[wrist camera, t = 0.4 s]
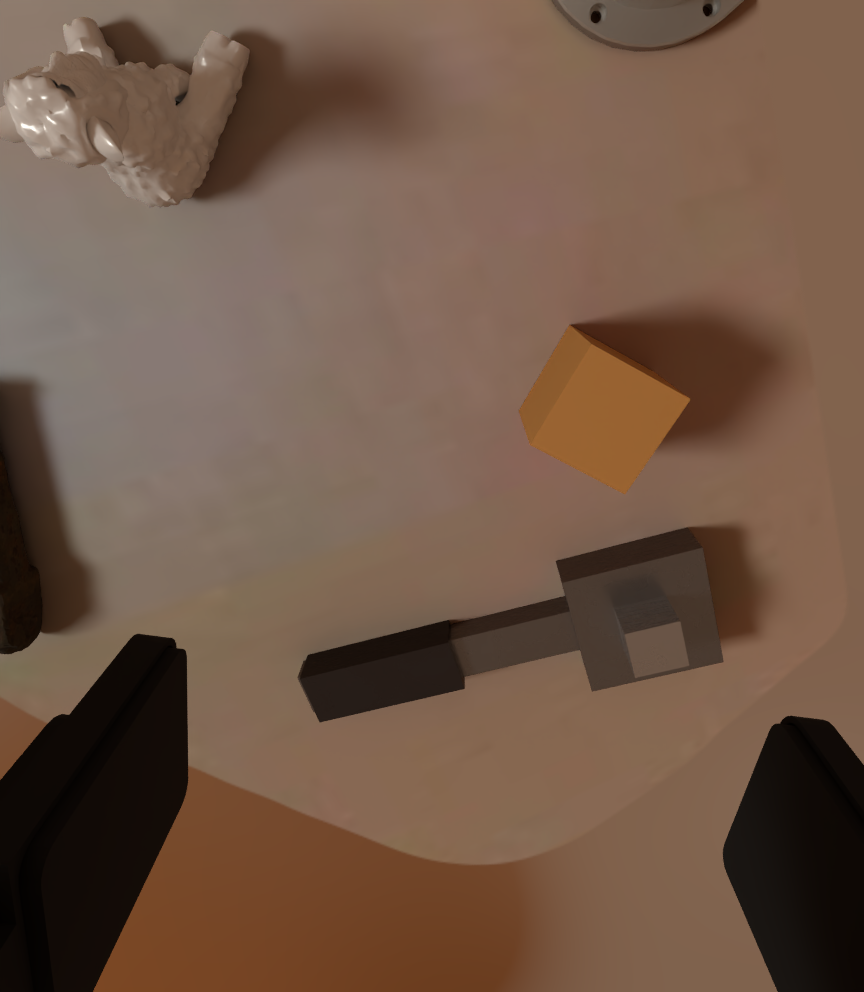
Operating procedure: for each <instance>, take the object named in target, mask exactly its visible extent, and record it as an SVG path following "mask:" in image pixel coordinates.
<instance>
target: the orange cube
mask: <svg viewBox="0 0 864 992" xmlns="http://www.w3.org/2000/svg"><path fill="white" fill-rule="evenodd" d="M690 400H691V399H690V398H688V397H687V396H686V395H684V394H683V393H682V392H680V391H679V390H678V389H676V388H675V387H674V386H672V385H671V384H670V383H668V382H667V381H666V380H664V379H663V378H661V377H660V376H659V375H657V374H656V373H655V372H653V371H652V370H650V369H648V368H646V367H644V366H643V365H641V364H639V363H637V362H635V361H634V360H632V359H630V358H628V357H626V356H625V355H623V354H621V353H619V352H617V351H616V350H614V349H612V348H610V347H609V346H607V345H605V344H603V343H601V342H600V341H598V340H596V339H594V338H592V337H591V336H589V335H587V334H585V333H583V332H582V331H580V330H578V329H576V328H574V327H573V326H571V325H569V327H568V328H567V330H566V332H565V333H564V335H563V337H562V338H561V340H560V342H559V344H558V345H557V347H556V349H555V350H554V352H553V354H552V355H551V357H550V359H549V360H548V362H547V364H546V366H545V367H544V369H543V371H542V372H541V374H540V376H539V377H538V379H537V381H536V382H535V384H534V386H533V388H532V389H531V391H530V393H529V394H528V396H527V398H526V399H525V401H524V403H523V405H522V406H521V408H520V410H519V413H520V416H521V419H522V422H523V425H524V428H525V431H526V434H527V437H528V440H529V443H530V445H531V446H533V447H535V448H537V449H539V450H541V451H543V452H545V453H547V454H548V455H550V456H552V457H554V458H556V459H558V460H560V461H562V462H564V463H566V464H568V465H570V466H572V467H573V468H575V469H577V470H579V471H581V472H583V473H585V474H587V475H589V476H591V477H593V478H595V479H596V480H598V481H600V482H602V483H604V484H606V485H608V486H610V487H612V488H614V489H616V490H618V491H619V492H621V493H623V494H626V492H627V491H628V489H629V488H630V486H631V485H632V484H633V482H634V481H635V479H636V478H637V476H638V475H639V473H640V472H641V471H642V469H643V468H644V466H645V465H646V463H647V462H648V460H649V459H650V458H651V456H652V455H653V453H654V452H655V450H656V449H657V447H658V446H659V445H660V443H661V442H662V440H663V439H664V437H665V436H666V434H667V433H668V432H669V430H670V429H671V427H672V426H673V424H674V423H675V421H676V420H677V419H678V417H679V416H680V414H681V413H682V411H683V410H684V408H685V407H686V406H687V404H688V403H689V401H690Z"/></svg>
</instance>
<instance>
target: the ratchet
mask: <svg viewBox="0 0 864 992" xmlns="http://www.w3.org/2000/svg"><path fill="white" fill-rule="evenodd" d="M556 564H557V567H558V571H559V575H560V578H561V582H562V585H563V589H564V593H565V596H564V597H560V598H556V599H552V600H548V601H544V602H540V603H536V604H532V605H528V606H524V607H520V608H516V609H512V610H508V611H504V612H500V613H496V614H491V615H487V616H483V617H479V618H475V619H471V620H467V621H463V622H459V623H455V624H451V625H450V623H449V620H447V621H443V622H439V623H435V624H431V625H427V626H423V627H419V628H415V629H411V630H407V631H403V632H399V633H395V634H391V635H387V636H383V637H379V638H375V639H371V640H367V641H363V642H359V643H355V644H351V645H347V646H343V647H339V648H335V649H331V650H327V651H323V652H319V653H315V654H311V655H308V656H307V659H306V661H303V664H302V667H301V670H300V672H299V675H298V680H299V682H300V684H301V686H302V688H303V691H304V693H305V695H306V697H307V699H308V701H309V703H310V705H311V708H312V710H313V712H315V713H316V715H317V718H318V720H319V722H323V721H328V720H332V719H336V718H341V717H345V716H349V715H354V714H358V713H362V712H366V711H371V710H375V709H379V708H384V707H388V706H392V705H397V704H401V703H405V702H410V701H414V700H418V699H423V698H427V697H431V696H435V695H440V694H444V693H448V692H453V691H457V690H461V689H465V676H470V675H474V674H478V673H482V672H487V671H491V670H495V669H499V668H504V667H508V666H512V665H516V664H521V663H525V662H529V661H533V660H538V659H542V658H546V657H551V656H555V655H559V654H563V653H568V652H572V651H576V650H580V651H581V655H582V658H583V662H584V665H585V669H586V672H587V676H588V679H589V683H590V686H591V690H592V691H597V690H601V689H606V688H610V687H614V686H619V685H623V684H628V683H632V682H637V681H641V680H646V679H650V678H654V677H659V676H663V675H668V674H672V673H677V672H681V671H686V670H690V669H695V668H699V667H703V666H708V665H712V664H717V663H721V662H723V656H722V651H721V645H720V640H719V634H718V629H717V623H716V618H715V612H714V607H713V601H712V596H711V590H710V585H709V579H708V574H707V568H706V563H705V557H704V552H703V547H702V546H701V545H700V543H699V542H698V541H697V539H696V538H695V537H694V536H693V534H692V533H691V532H690V530H689V529H688V528H684V529H680V530H676V531H672V532H668V533H664V534H660V535H656V536H652V537H648V538H644V539H641V540H637V541H633V542H629V543H625V544H621V545H617V546H613V547H609V548H605V549H601V550H598V551H594V552H590V553H586V554H582V555H578V556H574V557H570V558H566V559H562V560H559V561H556Z"/></svg>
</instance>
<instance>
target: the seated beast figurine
mask: <svg viewBox="0 0 864 992" xmlns="http://www.w3.org/2000/svg"><path fill="white" fill-rule="evenodd" d="M63 31H64V38H65V41H66V44H67V47H68V51H67V54H63V53H62V52H59V51H56V52H53V54H51V56H50V61H49V65H46V66H45V67H39V66H38V67H34V68H30V69H28V70H27V71H26V72H25V73H23V74H20V75H18V76H16V77H14V78H10V79H9V80H7V81H5V82H4V89H3V95H4V98H5V104H6V105H4V106H2V107H0V138H2V139H4V140H6V141H9V142H13V143H18V142H24V141H25V142H26V144H27V145H28V146H29V147H30V148H31V150H32V151H33V152H34V154H35V155H36V156H37V157H39V158H40V159H49V158H54V159H58V160H60V161H63V162H66V163H68V164H70V165H72V166H74V167H76V168H81V167H84V166H86V165H88V164H90V165H98V164H100V165H102V166H103V167H104V168H105V169H106V170H107V172H108V174H109V175H110V178H111V180H112V181H114V182H115V183H117V184H118V185H119V186H120V187H121V189H122V190H123V192H124V193H125V194H126V196H127V197H128V198H134V199H136V200H140V201H142V202H144V203H145V204H146V205H147V206H149V207H154V206H157V207H162V206H164V207H169V206H170V205H178V204H179V203H180V201H181V200H183V199H189V198H191V197H192V195H193V193H194V192H195V189H196V188H199V187H200V185H202V183H203V179H205V177H206V172H207V171H208V170H209V166H210V165H209V162H210V161H211V160H213V158H214V154H215V151H216V148H217V147H218V144H219V143H218V139H219V138H220V134H221V133H222V132H223V131H224V127H225V124H226V123H227V118H228V116H229V115H230V114H231V113H232V111H233V107H234V104H235V103H236V102H237V100H236V94H237V92H238V91H239V90H240V89H241V87H242V76H243V73H244V71H245V69H246V67H247V64H248V59H249V54H250V50H249V49H248V48H246V47H245V46H243V45H242V44H240V43H238V42H236V41H234V40H232V41H231V40H230V39H229V38H227V37H225V36H224V35H222V34H219V33H217V32H215V31H212V30H211V31H210V32H209V33H208V34H207V36H206V37H205V39H204V41H203V44H202V46H201V47H200V48H199V52H198V54H197V55H195V57H194V58H193V59H194V63H193V66H192V74H191V75H189V74H188V73H187V72H185V71H183V70H181V69H178V68H177V67H176V66H175V65H173V64H171V63H168V64H166V65H165V64H160V65H159V66H157V67H156V68H155V69H152V68H150V67H148V66H147V64H146V63H144V62H139V63H136V64H135V63H133V62H131V61H128V62H126V63H125V65H122V64H121V65H119V64H118V60H117V59H116V58H115V55H114V51H113V49H112V48H110V47H109V46H107V45H106V42H105V39H104V36H103V34H102V32H101V31H100V29H99V27H98V25H97V23H96V22H95V21H94V20H93V19H91V18H86V17H81V18H76V19H74V20H73V22H72V25H71V26H70V25H68V24H64V26H63ZM175 100H176V101H178V102H180V103H179V104H178V105H177V106H176V105H175V104H176V101H175Z"/></svg>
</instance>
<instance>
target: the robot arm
mask: <svg viewBox="0 0 864 992" xmlns="http://www.w3.org/2000/svg"><path fill="white" fill-rule="evenodd" d="M743 1H744V0H552V2H553V4H554V5H555V7H556V8H557V9H558V10H559V11H560V12H561V13H562V14H563V16H564V17H565V18H566V19H567V20H568V21H569V22H570V23H571V24H572V25H573V26H574V27H576V28H577V29H578V30H580V31H581V32H583V33H584V34H585V35H587V36H588V37H590V38H591V39H593V40H596V41H598V42H600V43H603V44H605V45H608V46H610V47H612V48H618V49H624V50H630V51H651V50H661V49H665V48H668V47H672V46H675V45H679V44H682V43H685V42H687V41H689V40H691V39H693V38H694V37H696V36H698V35H700V34H702V33H704V32H706V31H708V30H709V29H710V28H712V27H713V26H715V25H716V24H717V23H719V22H720V21H721V20H723V19H724V18H725V17H726V16H727V15H729V14H730V13H731V12H732V11H733V10H734V9H735V8H736V7H737V6H738V5H740V4H741V3H742V2H743ZM704 6H707V7H708V8H709V9H710V14H709V16H705V15H704V13H703V10H702V8H703V7H704ZM593 13H597V14H598V15H599V18H600V20H599V22H598V23H593V22H592V21H591V14H593ZM187 785H188V724H187V655H186V651H185V650H184V649H178V648H176V643H175V640H174V639H172V638H166V637H158V636H151V635H143V634H136V635H134V636H133V637H132V638H131V639H130V640H129V641H128V642H127V644H126V645H125V646H124V647H123V649H122V650H121V651H120V652H119V654H118V655H117V656H116V657H115V659H114V660H113V661H112V662H111V664H110V665H109V666H108V667H107V669H106V670H105V671H104V672H103V674H102V675H101V676H100V677H99V678H98V680H97V681H96V682H95V683H94V685H93V686H92V687H91V688H90V690H89V691H88V692H87V693H86V695H85V696H84V697H83V698H82V700H81V701H80V702H79V703H78V705H77V706H76V707H75V708H74V710H73V711H72V712H71V713H70V715H65V714H61V715H58V716H56V717H54V718H53V719H52V720H51V721H50V722H49V723H48V724H47V725H46V726H45V727H44V728H43V730H42V731H41V732H40V733H39V735H38V736H37V737H36V738H35V739H34V740H33V742H32V743H31V744H30V745H29V747H28V748H27V749H26V750H25V751H24V753H23V754H22V755H21V756H20V757H19V758H18V760H17V761H16V762H15V763H14V764H13V766H12V767H11V768H10V769H9V770H8V772H7V773H6V774H5V775H4V776H3V778H2V779H1V780H0V992H93V990H94V988H95V986H96V984H97V982H98V980H99V977H100V975H101V973H102V971H103V969H104V967H105V965H106V963H107V961H108V959H109V957H110V954H111V952H112V950H113V948H114V946H115V944H116V942H117V940H118V938H119V936H120V933H121V932H122V929H123V927H124V925H125V923H126V921H127V919H128V917H129V915H130V913H131V911H132V909H133V906H134V904H135V902H136V900H137V898H138V896H139V894H140V892H141V890H142V888H143V885H144V883H145V881H146V879H147V877H148V875H149V873H150V871H151V869H152V867H153V865H154V862H155V860H156V858H157V856H158V854H159V852H160V850H161V848H162V846H163V844H164V842H165V839H166V837H167V835H168V833H169V831H170V829H171V827H172V825H173V823H174V820H175V819H176V816H177V814H178V812H179V810H180V808H181V806H182V803H183V801H184V798H185V795H186V790H187ZM723 860H724V866H725V869H726V872H727V875H728V877H729V879H730V882H731V884H732V886H733V888H734V891H735V893H736V896H737V898H738V900H739V903H740V905H741V907H742V910H743V912H744V914H745V917H746V919H747V921H748V924H749V926H750V928H751V931H752V933H753V935H754V938H755V940H756V942H757V945H758V947H759V949H760V951H761V954H762V956H763V958H764V961H765V963H766V966H767V968H768V970H769V972H770V975H771V977H772V980H773V982H774V984H775V987H776V989H777V991H778V992H864V765H863V764H862V762H861V761H860V760H859V758H858V757H857V756H856V755H855V753H854V752H853V751H852V750H851V748H850V747H849V745H848V744H847V743H846V742H845V740H844V739H843V738H842V737H841V735H840V734H839V733H838V731H837V730H836V729H835V727H834V726H833V725H832V724H830V723H829V722H828V721H825V720H820V719H812V718H803V717H796V716H787V717H785V718H784V719H783V720H782V721H781V723H780V724H774V725H773V726H772V727H771V729H770V731H769V733H768V736H767V738H766V741H765V744H764V746H763V748H762V751H761V753H760V756H759V759H758V761H757V763H756V766H755V768H754V771H753V774H752V776H751V778H750V781H749V783H748V786H747V788H746V791H745V793H744V796H743V799H742V801H741V804H740V806H739V809H738V812H737V814H736V816H735V819H734V821H733V824H732V826H731V829H730V831H729V834H728V836H727V839H726V841H725V844H724V848H723Z"/></svg>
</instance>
